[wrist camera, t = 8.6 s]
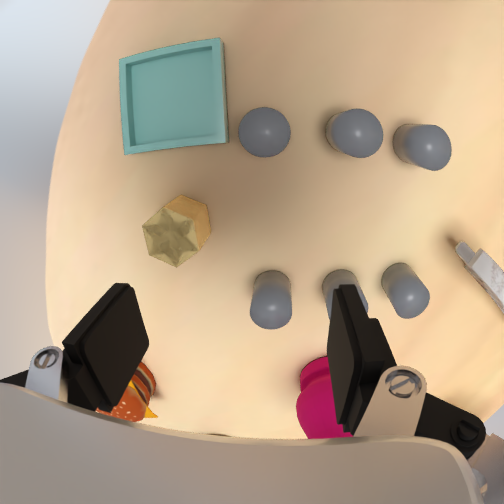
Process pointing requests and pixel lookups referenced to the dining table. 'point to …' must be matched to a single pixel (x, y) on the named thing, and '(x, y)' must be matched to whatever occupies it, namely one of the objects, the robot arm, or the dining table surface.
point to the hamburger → (135, 397)
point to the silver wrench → (484, 271)
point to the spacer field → (357, 145)
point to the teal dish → (174, 97)
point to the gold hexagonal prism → (177, 230)
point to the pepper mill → (318, 402)
